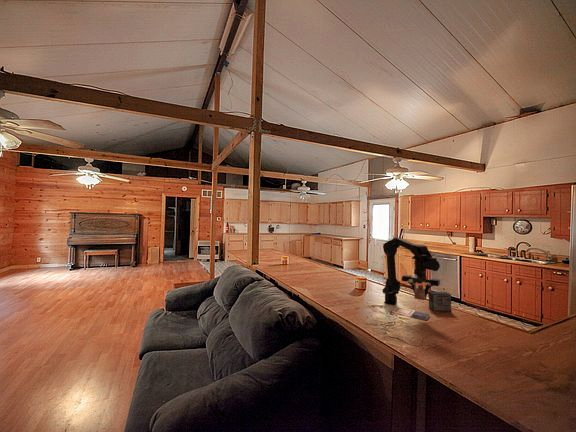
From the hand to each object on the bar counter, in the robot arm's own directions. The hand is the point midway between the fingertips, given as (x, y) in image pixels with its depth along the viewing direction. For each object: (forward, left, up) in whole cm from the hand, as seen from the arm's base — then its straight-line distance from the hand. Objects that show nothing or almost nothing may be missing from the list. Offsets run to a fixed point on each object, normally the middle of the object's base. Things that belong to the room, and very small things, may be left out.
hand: (420, 295), depth 145 cm
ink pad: (0, 0, -12) cm, 12 cm away
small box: (+6, +20, -12) cm, 24 cm away
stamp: (0, 0, -2) cm, 2 cm away
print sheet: (-10, +2, -12) cm, 15 cm away
